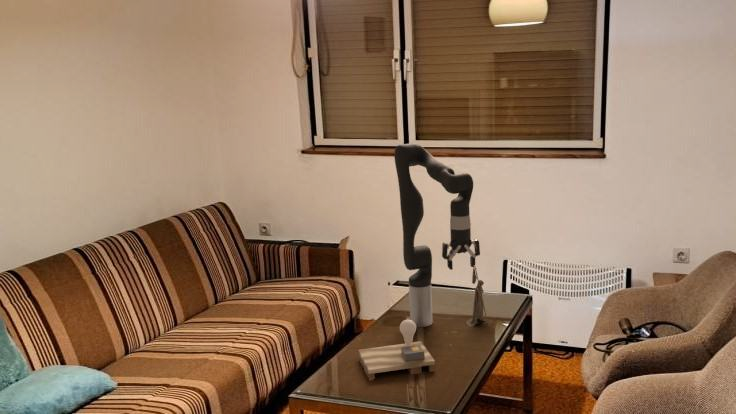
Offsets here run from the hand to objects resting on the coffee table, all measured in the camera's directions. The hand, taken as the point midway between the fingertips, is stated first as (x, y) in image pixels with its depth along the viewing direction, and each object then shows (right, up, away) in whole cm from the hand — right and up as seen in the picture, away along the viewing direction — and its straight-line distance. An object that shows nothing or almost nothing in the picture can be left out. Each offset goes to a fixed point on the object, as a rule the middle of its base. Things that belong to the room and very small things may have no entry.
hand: (461, 267), depth 271 cm
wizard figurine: (+10, -25, +25) cm, 37 cm away
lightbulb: (-20, -29, -6) cm, 36 cm away
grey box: (-19, -31, -15) cm, 39 cm away
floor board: (-25, -35, -11) cm, 44 cm away
